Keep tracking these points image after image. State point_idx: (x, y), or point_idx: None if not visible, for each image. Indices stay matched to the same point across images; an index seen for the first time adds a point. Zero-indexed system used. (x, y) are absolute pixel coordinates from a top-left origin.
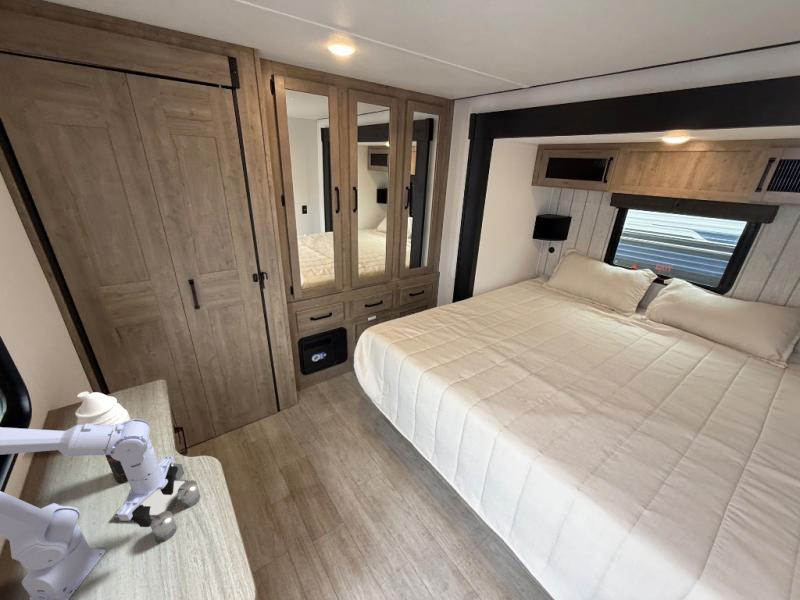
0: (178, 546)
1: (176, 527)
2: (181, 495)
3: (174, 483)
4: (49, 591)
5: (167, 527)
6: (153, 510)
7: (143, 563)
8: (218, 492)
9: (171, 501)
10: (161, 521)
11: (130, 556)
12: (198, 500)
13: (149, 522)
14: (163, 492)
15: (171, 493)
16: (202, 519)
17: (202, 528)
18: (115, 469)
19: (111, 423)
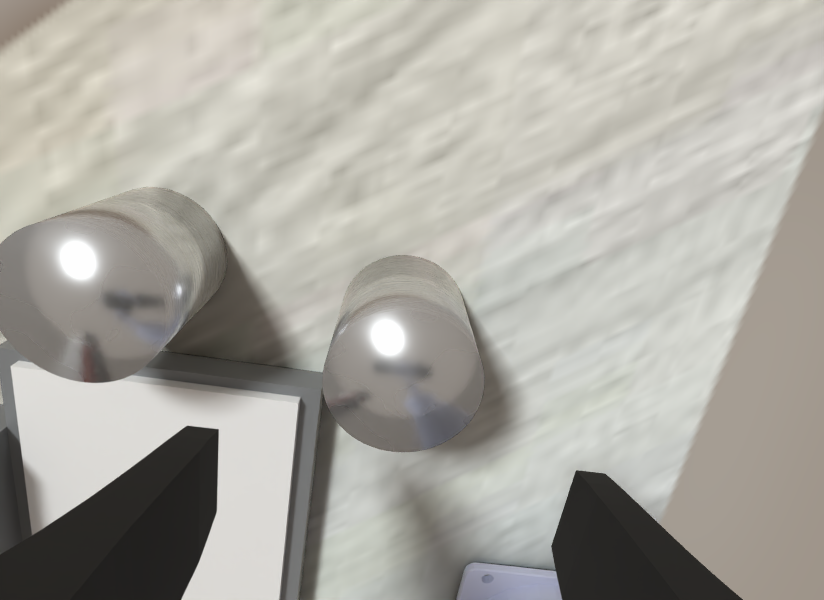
0: (516, 188)
1: (379, 262)
2: (165, 326)
3: (42, 428)
4: None
5: (451, 310)
6: (261, 463)
7: (577, 355)
8: (75, 37)
9: (189, 383)
10: (418, 379)
11: (518, 440)
12: (164, 190)
13: (639, 513)
14: (202, 537)
15: (209, 442)
16: (327, 87)
17: (404, 54)
18: None
19: None
